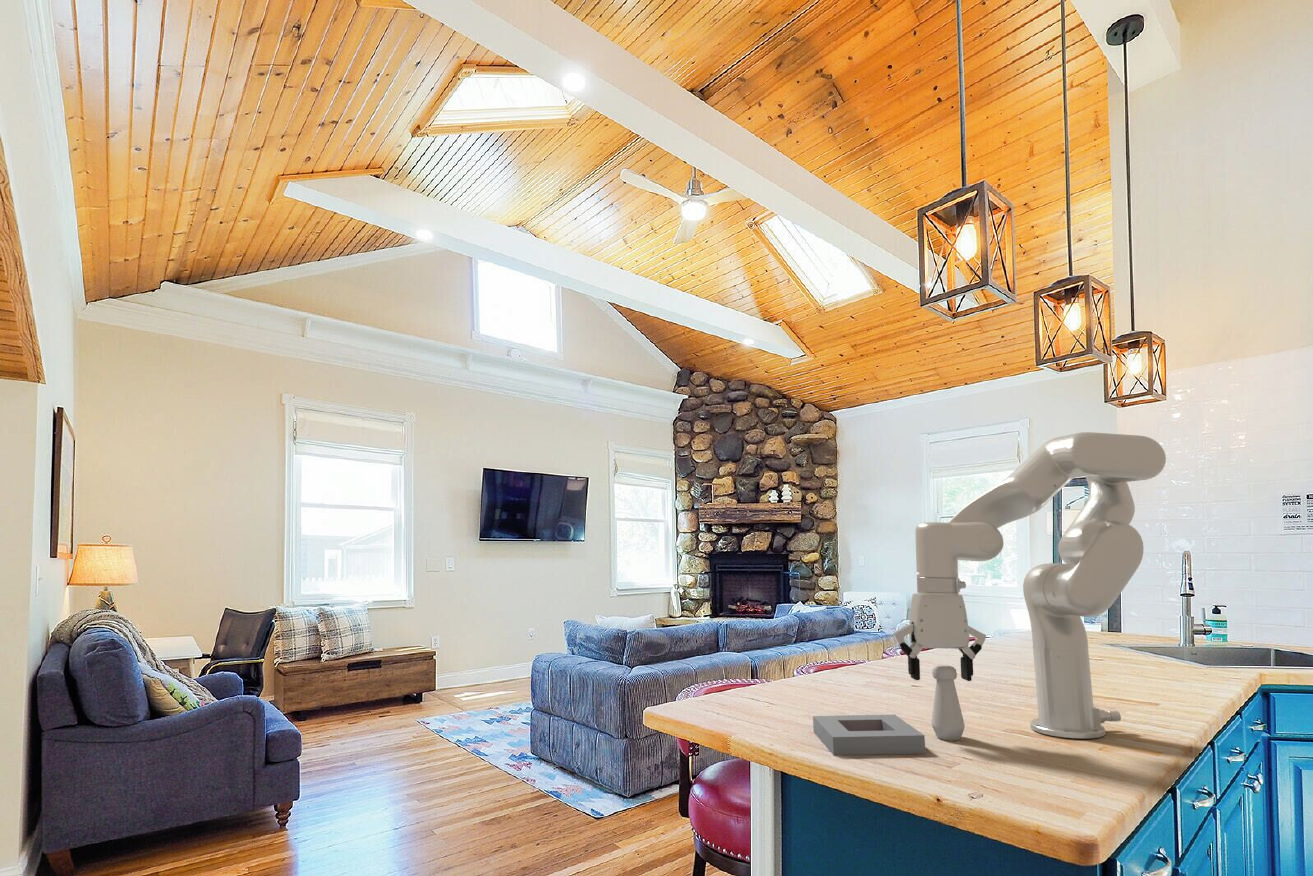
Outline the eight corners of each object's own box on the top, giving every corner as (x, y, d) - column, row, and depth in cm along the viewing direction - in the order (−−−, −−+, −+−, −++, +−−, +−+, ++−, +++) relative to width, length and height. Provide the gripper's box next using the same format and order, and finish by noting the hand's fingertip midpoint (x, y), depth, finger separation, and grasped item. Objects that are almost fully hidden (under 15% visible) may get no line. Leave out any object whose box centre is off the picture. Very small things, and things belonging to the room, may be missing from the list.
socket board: (895, 730, 147) (894, 714, 147) (925, 753, 131) (924, 735, 131) (813, 732, 147) (812, 716, 147) (833, 755, 131) (832, 737, 131)
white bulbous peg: (968, 742, 138) (963, 668, 139) (935, 741, 139) (930, 668, 140) (961, 734, 143) (957, 663, 145) (930, 733, 144) (925, 663, 146)
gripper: (974, 586, 148) (977, 676, 146) (886, 585, 148) (888, 675, 146) (991, 589, 141) (995, 683, 139) (899, 587, 141) (901, 682, 138)
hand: (940, 679), depth 142 cm, fingers open, 9 cm apart
